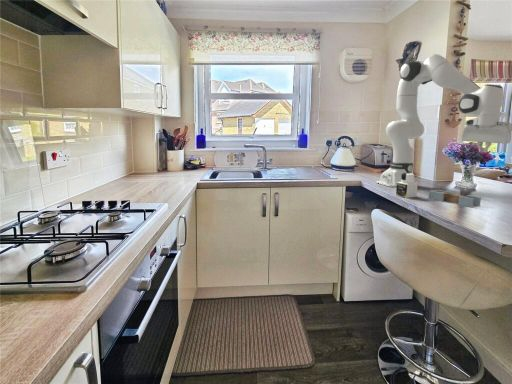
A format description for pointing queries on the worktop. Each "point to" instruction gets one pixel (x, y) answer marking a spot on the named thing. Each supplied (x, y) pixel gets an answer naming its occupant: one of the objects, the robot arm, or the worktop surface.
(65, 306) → the worktop surface
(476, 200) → the cap open
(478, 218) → the worktop surface
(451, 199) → the slat
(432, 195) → the cap closed
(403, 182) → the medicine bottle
